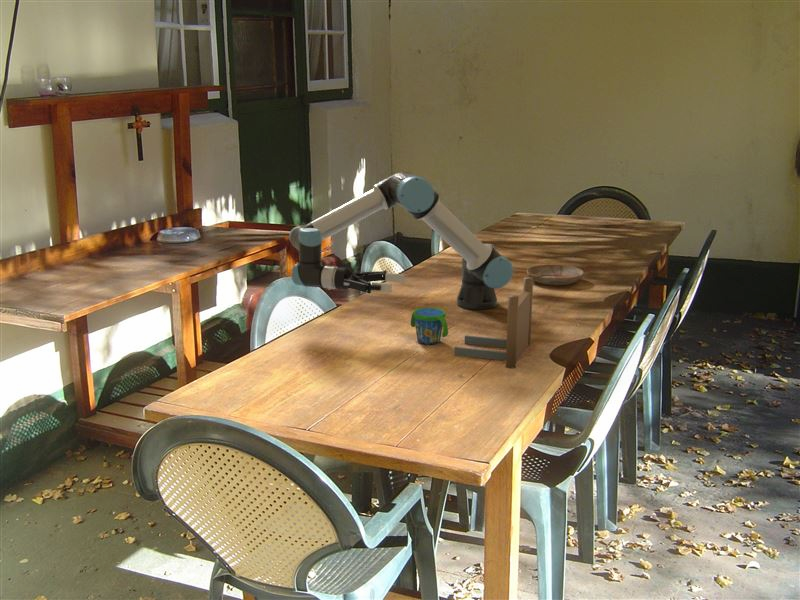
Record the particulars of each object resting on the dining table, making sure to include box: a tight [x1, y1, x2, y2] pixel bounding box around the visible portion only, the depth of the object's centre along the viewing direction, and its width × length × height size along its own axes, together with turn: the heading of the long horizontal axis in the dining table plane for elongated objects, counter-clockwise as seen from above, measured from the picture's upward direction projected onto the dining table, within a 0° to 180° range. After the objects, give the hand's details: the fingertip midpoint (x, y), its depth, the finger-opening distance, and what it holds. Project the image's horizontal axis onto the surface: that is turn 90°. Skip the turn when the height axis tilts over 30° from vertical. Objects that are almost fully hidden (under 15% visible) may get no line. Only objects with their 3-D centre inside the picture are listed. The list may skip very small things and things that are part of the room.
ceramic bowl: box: [525, 264, 585, 286], centre depth 384 cm, size 23×24×5 cm
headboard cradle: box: [453, 276, 534, 369], centre depth 293 cm, size 27×20×22 cm
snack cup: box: [410, 307, 449, 345], centre depth 304 cm, size 16×10×10 cm
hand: (398, 283), depth 304 cm, fingers open, 13 cm apart
